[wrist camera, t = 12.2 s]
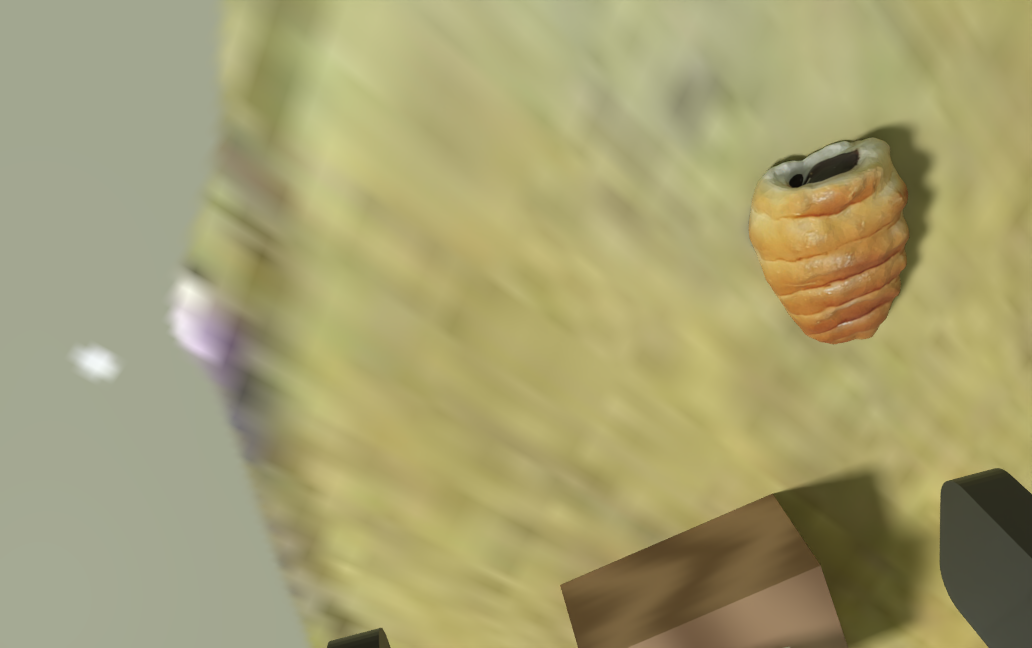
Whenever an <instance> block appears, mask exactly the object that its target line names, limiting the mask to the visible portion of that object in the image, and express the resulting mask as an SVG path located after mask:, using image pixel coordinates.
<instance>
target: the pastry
mask: <svg viewBox="0 0 1032 648" xmlns="http://www.w3.org/2000/svg"><path fill="white" fill-rule="evenodd" d="M907 200H908V191H907V187H906V184H905V183H904V182H903V180H902V179H901V178H900V176H899V175H898V173H897V171H896V170H895V168H894V166H893V163H892V160H891V158H890V146H889V145H888V144H887V143H886V142H885V141H883V140H880V139H877V138H872V137H871V138H867V139H864V140H861V141H859V140H857V141H854V142H852V143H850V142H847V141H842V142H838V143H834V144H831V145H828V146H826V147H824V148H823V149H821V150H819V151H817V152H814V153H813V154H811V155H809V156H808V157H807V158H805V159H804V160H802V161H788V162H784V163H782V164H779V165H777V166H775V167H772V168H770V169H769V170H768V171H767V172H766V173H765V174H764V175H763V176H762V178H761V179H760V180H759V181H758V183H757V186H756V188H755V192H754V195H753V198H752V205H751V212H750V219H749V236H750V240H751V242H752V244H753V247H754V249H755V252H756V254H757V256H758V259H759V261H760V264H761V266H762V269H763V272H764V275H765V278H766V280H767V282H768V283H769V284H770V286H771V287H772V289H773V291H774V292H775V294H776V295H777V297H778V298H779V299H780V301H781V303H782V304H783V305H784V307H785V309H786V311H787V313H788V314H789V315H790V316H791V317H792V319H793V320H794V321H795V322H796V323H797V325H798V326H799V327H800V328H801V329H802V331H803V332H804V333H805V334H806V335H807V336H809V337H811V338H813V339H816V340H818V341H820V342H825V343H830V344H838V343H843V342H848V341H851V340H854V339H867V338H870V337H872V336H873V335H874V333H875V332H876V331H877V330H878V327H879V325H880V324H881V323H882V322H883V321H884V320H885V319H886V318H887V316H888V312H889V310H890V307H891V305H892V302H893V300H894V298H895V297H896V296H898V294H899V293H900V288H901V280H900V272H901V271H902V270H903V269H904V268H905V267H906V265H907V257H906V253H905V244H906V242H907V240H908V239H909V229H908V226H907V223H906V221H905V219H904V217H903V208H904V207H905V205H906V204H907Z"/></svg>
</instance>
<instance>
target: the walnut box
mask: <svg viewBox="0 0 1032 648" xmlns="http://www.w3.org/2000/svg"><path fill="white" fill-rule="evenodd" d="M560 586H561V590H562V593H563V596H564V600H565V603H566V607H567V610H568V614H569V617H570V621H571V624H572V628H573V631H574V635H575V638H576V642H577V645H578V648H785V647H790V648H848V646H847V643H846V640H845V637H844V634H843V631H842V628H841V625H840V622H839V619H838V616H837V613H836V610H835V607H834V604H833V601H832V598H831V595H830V592H829V589H828V586H827V583H826V580H825V577H824V574H823V571H822V568H821V565H820V564H819V562H818V561H817V559H816V558H815V556H814V555H813V553H812V552H811V550H810V549H809V547H808V546H807V544H806V543H805V541H804V540H803V538H802V537H801V535H800V534H799V532H798V531H797V530H796V528H795V527H794V525H793V524H792V522H791V521H790V519H789V518H788V516H787V515H786V513H785V512H784V510H783V509H782V507H781V506H780V504H779V503H778V501H777V500H776V498H775V497H774V495H773V494H771V495H768V496H766V497H764V498H761V499H759V500H757V501H754V502H752V503H750V504H747V505H745V506H743V507H740V508H738V509H736V510H734V511H731V512H729V513H727V514H724V515H722V516H720V517H717V518H715V519H713V520H710V521H708V522H706V523H703V524H701V525H699V526H696V527H694V528H692V529H689V530H687V531H685V532H682V533H680V534H678V535H675V536H673V537H671V538H668V539H666V540H664V541H661V542H659V543H657V544H654V545H652V546H650V547H648V548H645V549H643V550H641V551H638V552H636V553H634V554H631V555H629V556H627V557H624V558H622V559H620V560H617V561H615V562H613V563H610V564H608V565H606V566H603V567H601V568H599V569H596V570H594V571H592V572H589V573H587V574H585V575H582V576H580V577H578V578H575V579H573V580H571V581H568V582H566V583H564V584H562V585H560Z"/></svg>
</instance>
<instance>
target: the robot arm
mask: <svg viewBox="0 0 1032 648" xmlns="http://www.w3.org/2000/svg"><path fill="white" fill-rule="evenodd" d="M940 570H941V575H942V579H943V582H944V585H945V587H946V590H947V592H948V594H949V596H950V598H951V600H952V602H953V603H954V605H955V606H956V608H957V609H958V610H959V612H960V613H961V614H962V615H963V617H964V618H965V619H966V620H967V621H968V623H969V624H970V625H971V626H972V628H973V629H974V630H975V631H976V632H977V634H978V635H979V636H980V637H981V639H982V640H983V641H984V642H985V643H986V645H987V646H988V647H989V648H1032V494H1031V493H1030V492H1029V491H1028V490H1027V489H1025V488H1024V487H1023V486H1022V485H1021V484H1020V483H1019V482H1018V481H1017V480H1016V479H1015V478H1013V477H1012V476H1011V475H1010V474H1009V473H1008V472H1006V471H1005V470H1003V469H1000V468H995V469H991V470H987V471H984V472H980V473H976V474H972V475H968V476H965V477H961V478H957V479H953V480H949V481H946V482H945V483H944V484H943V486H942V489H941V502H940ZM327 648H390V645H389V642H388V639H387V637H386V634H385V632H384V630H383V629H382V628H378V629H375V630H371V631H367V632H363V633H359V634H356V635H352V636H348V637H344V638H340V639H336V640H333V641H330V642H329V643H328V646H327Z"/></svg>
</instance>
